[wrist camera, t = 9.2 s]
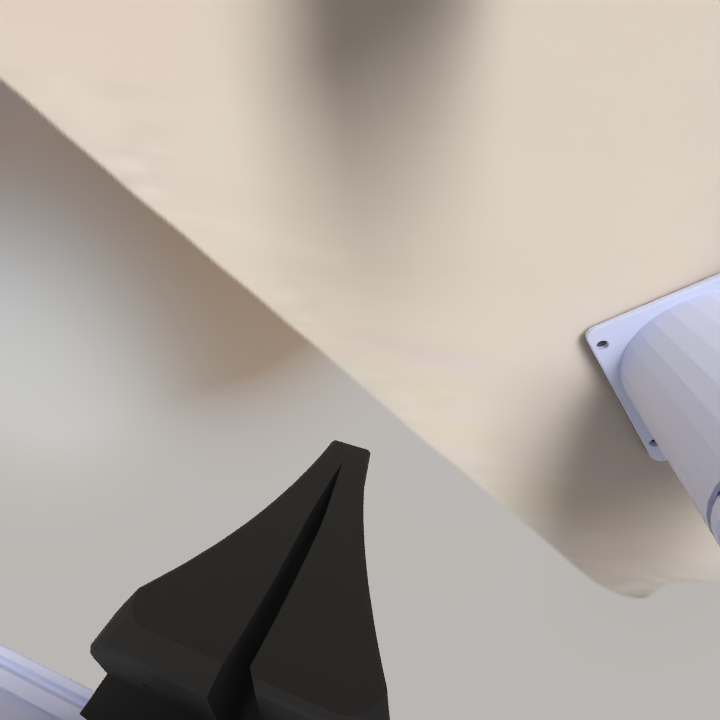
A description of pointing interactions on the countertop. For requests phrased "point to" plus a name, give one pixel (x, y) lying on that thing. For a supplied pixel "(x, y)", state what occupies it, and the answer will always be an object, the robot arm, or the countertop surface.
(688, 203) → the countertop surface
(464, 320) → the countertop surface
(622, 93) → the countertop surface
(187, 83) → the countertop surface
